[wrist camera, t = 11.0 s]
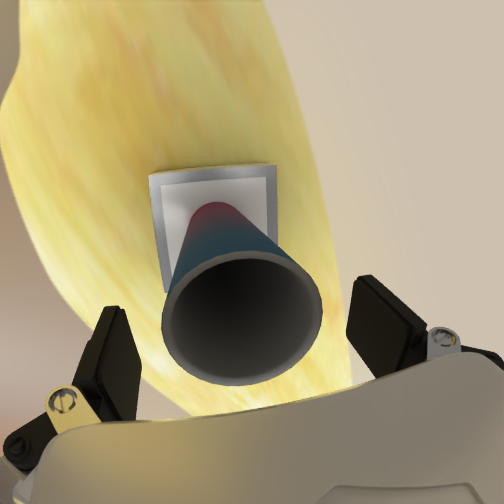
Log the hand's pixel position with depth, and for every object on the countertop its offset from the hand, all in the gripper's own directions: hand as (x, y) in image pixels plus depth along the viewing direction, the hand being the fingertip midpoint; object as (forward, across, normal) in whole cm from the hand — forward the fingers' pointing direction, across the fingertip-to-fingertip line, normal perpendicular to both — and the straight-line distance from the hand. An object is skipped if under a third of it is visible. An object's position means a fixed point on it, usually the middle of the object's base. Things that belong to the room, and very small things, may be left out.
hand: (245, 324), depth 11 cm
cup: (+16, 0, +1) cm, 16 cm away
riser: (+20, 0, +1) cm, 20 cm away
